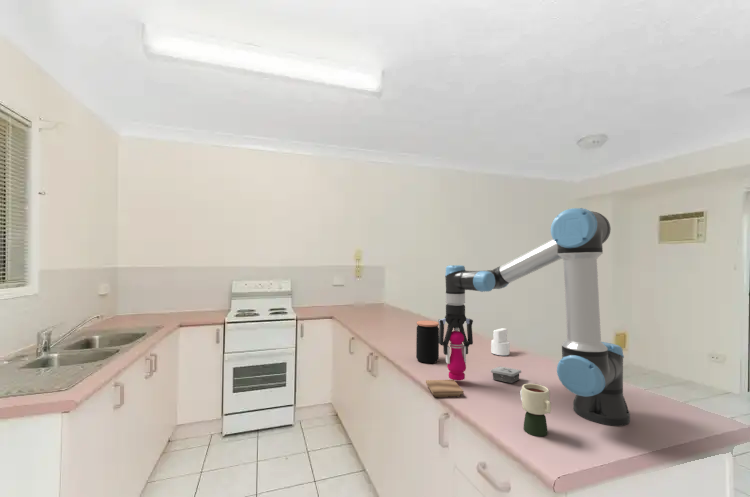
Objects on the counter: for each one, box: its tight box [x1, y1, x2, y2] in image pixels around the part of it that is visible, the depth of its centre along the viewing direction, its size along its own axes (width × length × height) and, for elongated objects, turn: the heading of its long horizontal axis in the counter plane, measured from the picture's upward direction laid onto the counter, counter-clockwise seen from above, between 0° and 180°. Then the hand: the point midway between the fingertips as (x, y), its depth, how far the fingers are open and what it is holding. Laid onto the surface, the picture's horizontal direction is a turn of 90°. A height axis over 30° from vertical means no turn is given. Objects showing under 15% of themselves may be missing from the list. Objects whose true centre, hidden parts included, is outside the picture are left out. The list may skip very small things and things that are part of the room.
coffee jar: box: [415, 320, 440, 364], centre depth 165 cm, size 11×11×18 cm
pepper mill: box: [446, 327, 467, 381], centre depth 136 cm, size 7×7×20 cm
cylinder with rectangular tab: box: [490, 327, 511, 356], centre depth 178 cm, size 9×9×12 cm
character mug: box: [521, 383, 552, 437], centre depth 98 cm, size 11×7×13 cm, turn 17°
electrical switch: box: [490, 365, 522, 384], centre depth 140 cm, size 9×5×9 cm
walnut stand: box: [425, 379, 465, 398], centre depth 126 cm, size 11×11×2 cm
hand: (455, 362), depth 136 cm, fingers closed on pepper mill, 6 cm apart
